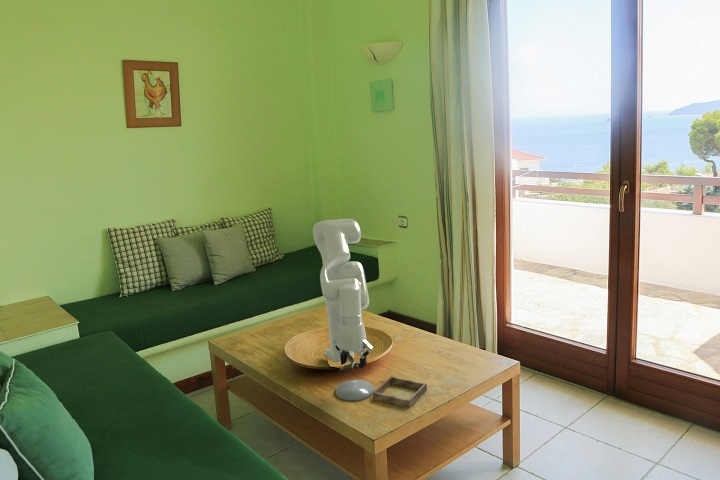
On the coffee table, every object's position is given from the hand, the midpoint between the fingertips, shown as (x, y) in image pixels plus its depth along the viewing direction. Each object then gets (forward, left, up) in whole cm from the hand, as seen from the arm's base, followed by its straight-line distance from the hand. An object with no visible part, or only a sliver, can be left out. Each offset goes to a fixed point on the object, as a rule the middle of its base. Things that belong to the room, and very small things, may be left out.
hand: (353, 364), depth 212 cm
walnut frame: (+16, +5, -11) cm, 20 cm away
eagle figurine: (-1, 0, -3) cm, 3 cm away
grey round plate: (0, 0, -11) cm, 11 cm away
